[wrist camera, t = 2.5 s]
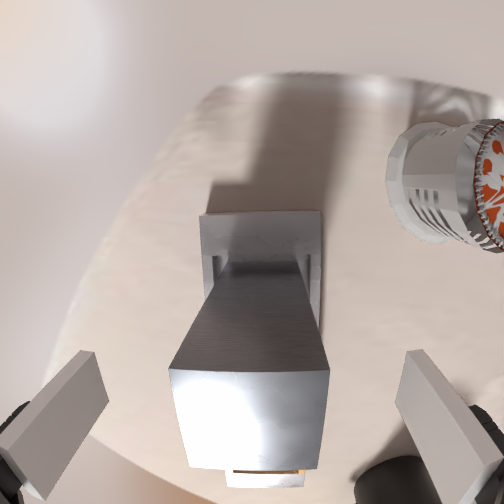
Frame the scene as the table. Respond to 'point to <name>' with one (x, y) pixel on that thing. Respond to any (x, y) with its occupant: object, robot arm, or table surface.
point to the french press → (449, 182)
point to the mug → (397, 483)
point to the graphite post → (253, 373)
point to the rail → (263, 249)
